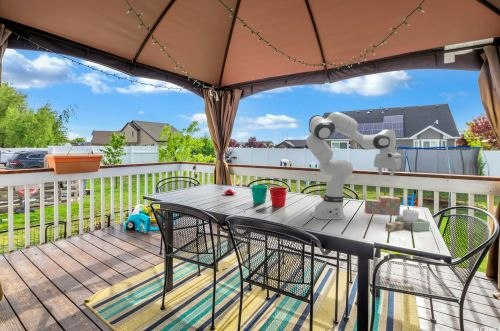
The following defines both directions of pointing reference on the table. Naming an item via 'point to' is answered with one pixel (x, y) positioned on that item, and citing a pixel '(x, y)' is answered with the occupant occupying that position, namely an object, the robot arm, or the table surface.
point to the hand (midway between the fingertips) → (385, 175)
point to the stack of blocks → (383, 205)
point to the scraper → (398, 225)
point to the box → (418, 224)
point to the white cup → (410, 216)
